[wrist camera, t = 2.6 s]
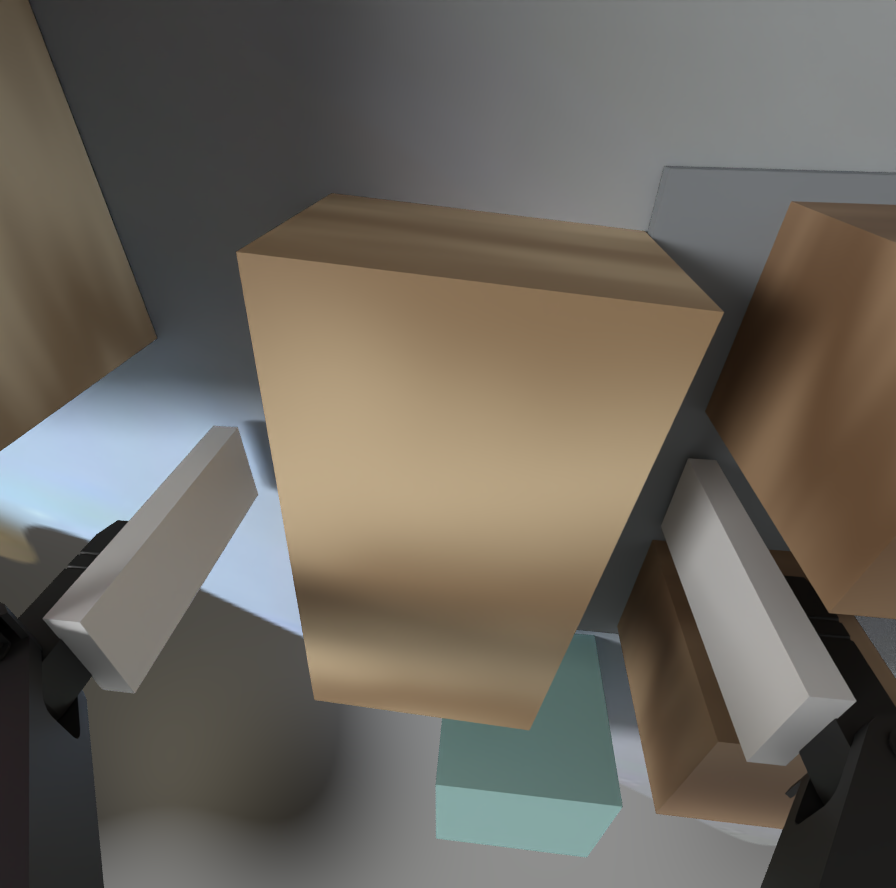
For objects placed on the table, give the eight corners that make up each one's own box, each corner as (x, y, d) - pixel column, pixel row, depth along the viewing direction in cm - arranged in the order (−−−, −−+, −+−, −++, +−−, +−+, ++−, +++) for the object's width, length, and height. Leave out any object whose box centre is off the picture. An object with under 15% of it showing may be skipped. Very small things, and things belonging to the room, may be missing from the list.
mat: (664, 166, 10) (670, 168, 9) (1208, 181, 9) (1234, 185, 9) (550, 618, 19) (550, 627, 19) (806, 642, 19) (812, 652, 18)
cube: (451, 620, 20) (435, 784, 15) (594, 633, 20) (622, 806, 15) (449, 688, 24) (435, 838, 19) (570, 700, 23) (586, 857, 19)
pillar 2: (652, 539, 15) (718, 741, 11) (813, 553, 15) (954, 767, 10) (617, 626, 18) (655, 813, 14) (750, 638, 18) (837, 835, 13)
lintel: (334, 191, 11) (235, 251, 7) (641, 227, 11) (724, 312, 7) (353, 573, 19) (314, 700, 15) (524, 596, 19) (529, 730, 15)
